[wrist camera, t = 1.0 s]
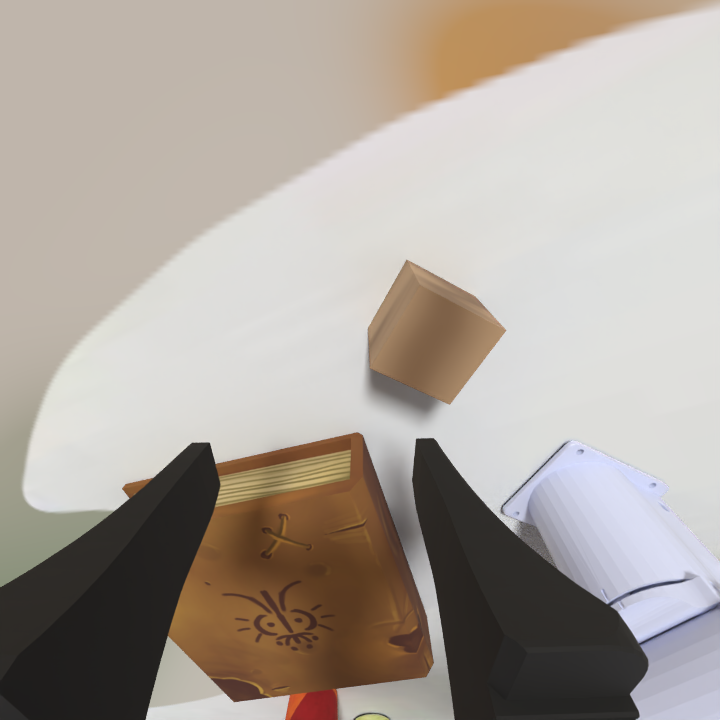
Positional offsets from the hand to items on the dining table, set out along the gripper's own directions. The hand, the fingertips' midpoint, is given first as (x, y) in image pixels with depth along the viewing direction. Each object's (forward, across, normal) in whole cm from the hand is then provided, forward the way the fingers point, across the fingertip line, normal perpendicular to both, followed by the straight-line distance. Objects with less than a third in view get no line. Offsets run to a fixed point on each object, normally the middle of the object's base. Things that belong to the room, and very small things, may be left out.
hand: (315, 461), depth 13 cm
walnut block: (+10, -5, -2) cm, 12 cm away
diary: (+10, +4, +21) cm, 23 cm away
